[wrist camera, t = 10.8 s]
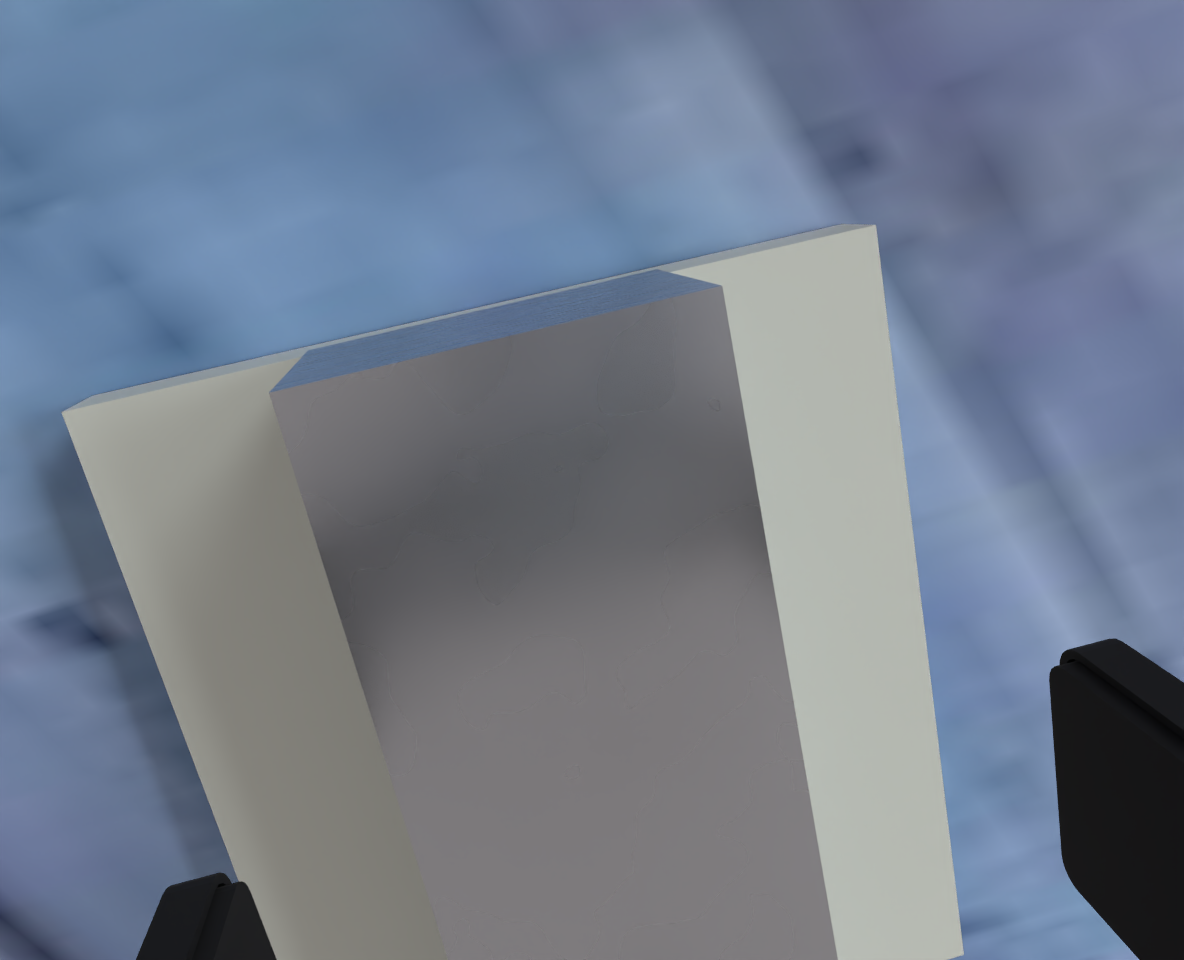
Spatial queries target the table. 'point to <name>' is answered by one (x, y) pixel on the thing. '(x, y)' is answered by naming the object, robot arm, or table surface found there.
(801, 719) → the board
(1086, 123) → the table surface
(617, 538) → the link plate
